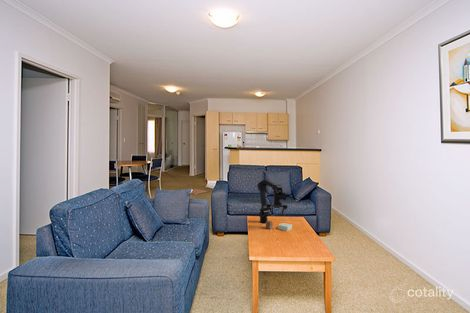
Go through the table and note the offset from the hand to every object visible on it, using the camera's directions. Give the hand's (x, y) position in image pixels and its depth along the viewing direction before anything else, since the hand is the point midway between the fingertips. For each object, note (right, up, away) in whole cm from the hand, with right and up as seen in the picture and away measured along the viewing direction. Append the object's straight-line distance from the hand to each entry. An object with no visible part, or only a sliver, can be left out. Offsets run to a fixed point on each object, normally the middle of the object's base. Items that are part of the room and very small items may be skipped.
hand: (276, 215), depth 237 cm
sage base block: (+7, -12, -1) cm, 14 cm away
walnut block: (-7, -12, -1) cm, 14 cm away
